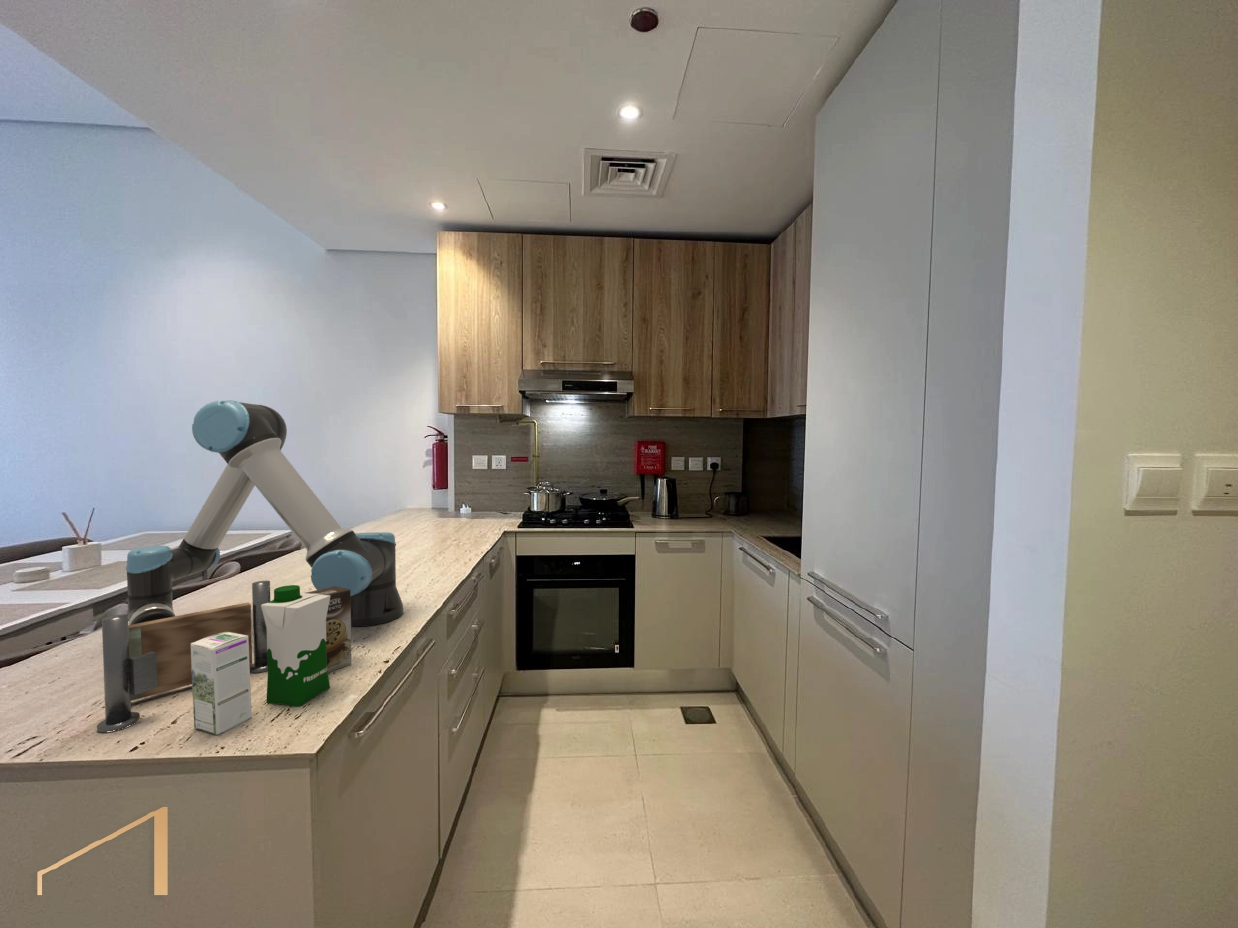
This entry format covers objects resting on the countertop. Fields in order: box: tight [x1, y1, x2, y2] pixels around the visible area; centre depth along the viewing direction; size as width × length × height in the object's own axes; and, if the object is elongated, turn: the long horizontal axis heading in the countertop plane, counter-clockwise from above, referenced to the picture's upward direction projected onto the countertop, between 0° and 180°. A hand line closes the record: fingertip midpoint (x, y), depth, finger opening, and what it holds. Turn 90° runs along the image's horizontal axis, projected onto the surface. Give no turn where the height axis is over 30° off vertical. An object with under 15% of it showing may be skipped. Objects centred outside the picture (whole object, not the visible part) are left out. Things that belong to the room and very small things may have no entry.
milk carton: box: [261, 584, 331, 707], centre depth 90 cm, size 9×9×20 cm
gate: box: [128, 602, 253, 702], centre depth 93 cm, size 18×2×13 cm, turn 138°
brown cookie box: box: [305, 586, 352, 673], centre depth 101 cm, size 9×6×16 cm
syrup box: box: [191, 632, 253, 736], centre depth 81 cm, size 6×6×14 cm
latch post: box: [96, 613, 158, 732], centre depth 81 cm, size 6×5×18 cm
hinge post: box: [250, 580, 271, 674], centre depth 101 cm, size 5×5×18 cm
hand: (160, 657), depth 90 cm, fingers closed
